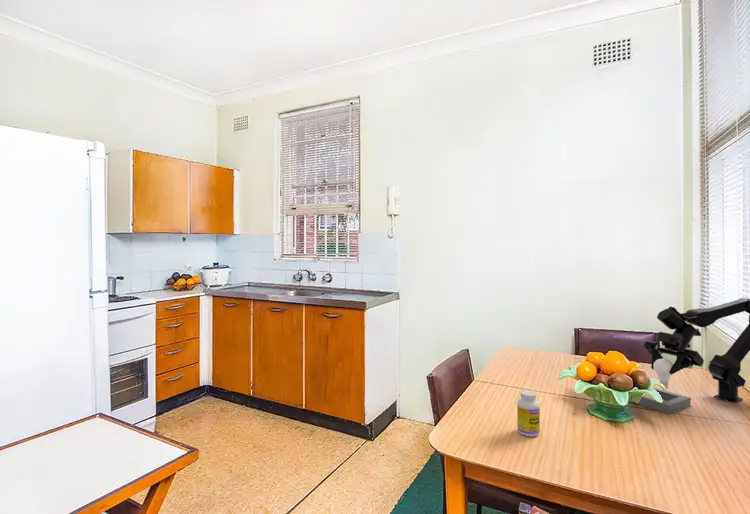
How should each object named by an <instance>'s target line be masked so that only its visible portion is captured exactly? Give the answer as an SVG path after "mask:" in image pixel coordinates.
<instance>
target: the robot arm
mask: <svg viewBox="0 0 750 514" xmlns="http://www.w3.org/2000/svg"><path fill="white" fill-rule="evenodd" d="M743 312H745V313H747V314H749V315H748V325H747V326H746V327H745V329H743V331H742V332H741V333H740V335H739V336H738V337H737V339H735V340H734V342H733V344H732V345H731V346H730V347H729V348H728V350H727V351H726V352H725V354H722V355H720V354H715V355H714V356H713V357H712V359H711V360H710V361H709V362H708V363H709V365H708V367H707V369H708V372H709V374H711V377H712V379H713V380H716V381H718V382H717V388H718V389H717V394H716V395H713V398H715V399H719V400H723V401H726V402H730V403H734V404H735V403H737V402H740V401H743V400H742V399H743V397H740V396H739V388H740V387H744V386H745V384H746V380H745V379H744V377H742V375H740V373H741V371H742V369H741V364H742V361H743V360H744V359H745V358H746V356H747V355H748V353H749V352H750V298H747V297H741V298H738V299H736V300H733V301H729V302H725V303H722V304H718V305H715V306H712V307H707V308H706V307H705V308H693V309H689V310H686V312H683V313H680V311H678V309H676V307H674V306H669V307H668V308H665V309H663V310H661V311H659V312H658V313H657V315H656V316H657V317H656V318H657V320H658V321H660V322H661V323H662V324H663V325H664V326H665V327H667V329H669V330H673V332H672V333H668V332H665V331H664V332H663V331H658V334H657V337H656V341H659V342H660V343H661V345H662V346H663V347H661V346H660V345H659V343H658V342H655V341H650V340H645V341H644V343H643V345H642V346H643V347H644V348H645V350H646V351H647V352H648V353H649V355H651V356H652V357H651V364H650V365H651V366H650V368H651V370H654V368H653V364H654V362H655V361H656V360H658V359H661V358H663V359H665V358H664V357H663V356H662V354H665V355H669V356H675V357H676V359H675V361H674V362H673V366H672V368H671V369H670V372H669V373H670V374H671V376H672V375H674V374H676V373H677V372H680V371H681V370H683V369H686V368H688V367H693V366H696V367H699V368H700V367H702V366H703V365H704V363H705V360H704V358H703V357H702V356H701V355H700V353H699V352H698V350H693V349H690V347H691V344H690V343H691V341H692V340H693V338H694V337H701V336H702V334H701V332H700V329H699V328H707V327H708V326H709V327H710V326H711V325H713V324H715V323H716V321H718V320H720V319H724V318H726V317H730V316H734V315H736V314H740V313H743ZM694 326H695V327H694ZM697 327H699V328H697Z"/></svg>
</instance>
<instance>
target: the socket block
mask: <svg viewBox="0 0 750 514" xmlns="http://www.w3.org/2000/svg"><path fill="white" fill-rule="evenodd" d="M654 389H655V390H656V391H657V392H659V394H660V395H661V397H662V400H663V402H662V403H660V402H657V401H656V400H654V399H653V398H652V397H651V396H650V395H647V394H645V395H643V396H642V397H641V399H640V401H639V403H638V404H637V405H639V406H643V407H646V408H649V409H651V410H654V411H658V412H662V413H664V414H667V415H671V414H674V413H676V412H679V411H681V410H683V409H686V408H689V407H691V403H692V401H691V399H692V398H691V397H689V396H685V395H682V394H679V393H675V392H672V391H668V390H665V389H662V388H661V389H660V388H657V387H654Z"/></svg>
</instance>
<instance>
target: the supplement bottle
mask: <svg viewBox="0 0 750 514" xmlns="http://www.w3.org/2000/svg"><path fill="white" fill-rule="evenodd" d="M519 393H520V394H519V395H520V398H519V399H517V405H516V406H517V407H516V408H517V411H516V412H517V416H516V417H517V418H516V419H517V420H516V421H517V423H516V424H517V428H516V429H517V432H518V434H520V435H522V436H524V435H525V436H524V437H528V436H529V437H530V438H535V437H537V436H539V435H540V434H541V433H540V431H541V430H540V429H541V427H540V426H541V425H540V424H541V422H540V419H541V417H540V416H541V415H540V407H541V406H540V403H539V401H537V393H536V392H535V391H533V390H527V389H525V390H521V391H520V392H519ZM534 436H535V437H534Z"/></svg>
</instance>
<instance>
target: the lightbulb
mask: <svg viewBox="0 0 750 514" xmlns="http://www.w3.org/2000/svg"><path fill="white" fill-rule="evenodd" d="M663 358H664V357H663ZM663 358H661V359H658V360H656V361H655V362H654V364H653V368H654V369H653V371H654V372H655V373H656V374H657V378H658V380H659V384H660V383H661V384H663V385H664V386H665V388H666V389H668V388H669V381H670V379H671V376H672V375H671V374H670V373H669V372H670V369H671V368H672V366H673V364H674V362H672V361H671V360H669V359H667V358H664V359H663Z"/></svg>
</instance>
